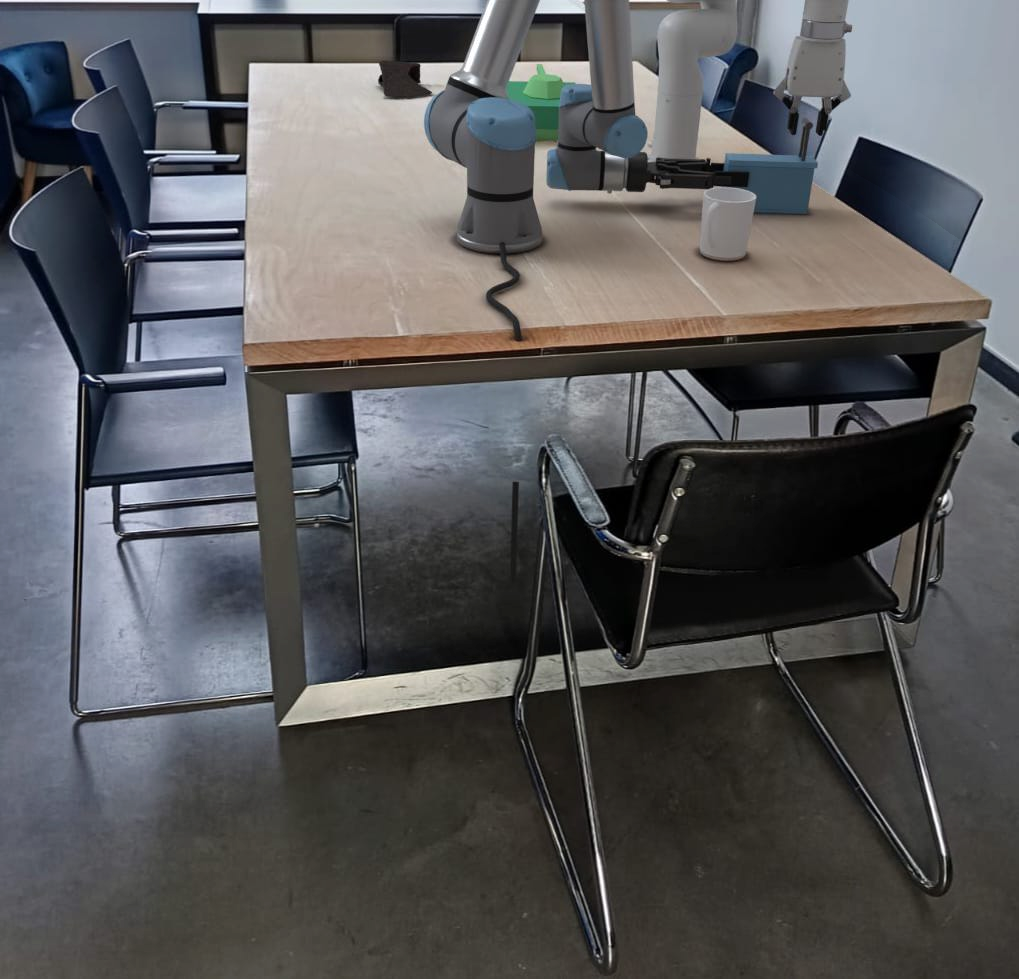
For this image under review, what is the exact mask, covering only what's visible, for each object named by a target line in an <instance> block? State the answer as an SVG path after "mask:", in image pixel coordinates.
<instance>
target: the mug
mask: <svg viewBox="0 0 1019 979" xmlns="http://www.w3.org/2000/svg"><path fill="white" fill-rule="evenodd" d="M755 202H756V195H755V194H754V193H752V192H750V191H747V190H744V189H739V188H730V187H722V186H717V187H713V188H711V189H705V190H704V191H703V194H702V210H701V225H700V240H699V252H700V254H701V255H702V256H704V257H706V258H709V259H711V260H716V261H727V262H728V261H729V262H731V261H736V260H737V261H738V260H741V259H744V257H745V256H746V254H747V249H748V244H749V239H750V234H751V229H752V223H753V218H754V214H755V213H754V207H755Z"/></svg>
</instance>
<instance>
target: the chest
mask: <svg viewBox="0 0 1019 979" xmlns="http://www.w3.org/2000/svg"><path fill="white" fill-rule="evenodd" d="M723 163H724V170H723V171H734V172H749V180H748V187H730V188H739V189H744V190H747V191H750V192H752V193H754V194H755V195H756V202H755V207H754V213H753V214H755V213H756V214H757V213H758V214H785V215H808V210H809V206H810V205H809V204H810V199H811V193H812V187H813V181H814V175H815V168H787V167H756V166H728V164H727V162H726V160H725V159H724V162H723ZM721 187H727V186H721Z"/></svg>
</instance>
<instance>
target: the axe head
mask: <svg viewBox="0 0 1019 979" xmlns="http://www.w3.org/2000/svg"><path fill="white" fill-rule="evenodd" d="M378 66H379V68H380V72H381V74H379V75H378V79H377V84H378V85H379V86H380V87H381V88H382V89H383V95H384V96H385V97H388V98H394V99H395V98H396V99H403V98H405V99H406V98H407V99H411V98H418V97H425V96H429V95H432V94H433V91H431V90H430V89H428V88H427V87H425V86H422V85H421V84H422V82H421V63H419V62H410V61H408V62H407V61H397V60H388V59H387V60H380V61H379V62H378Z"/></svg>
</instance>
